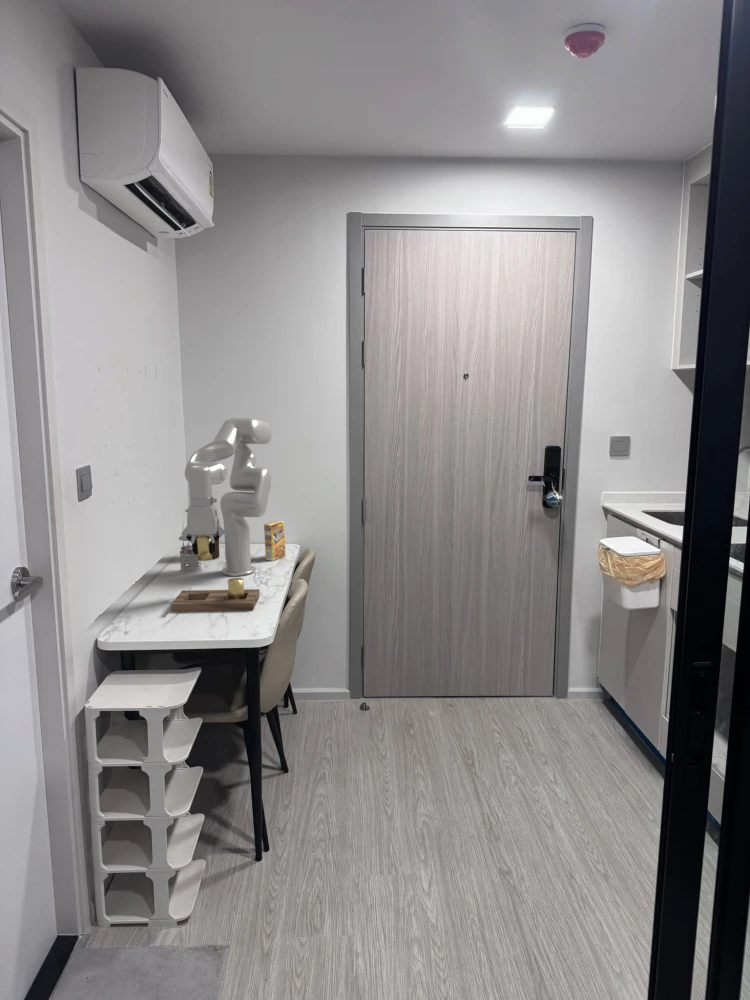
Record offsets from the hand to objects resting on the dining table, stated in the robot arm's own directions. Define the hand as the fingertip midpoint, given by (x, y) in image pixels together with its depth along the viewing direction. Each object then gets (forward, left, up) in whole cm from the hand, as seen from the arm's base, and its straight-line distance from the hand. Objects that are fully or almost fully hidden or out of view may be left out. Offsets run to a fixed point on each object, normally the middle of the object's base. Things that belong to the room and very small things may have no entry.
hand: (204, 553), depth 227 cm
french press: (-28, -13, -15) cm, 35 cm away
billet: (0, 0, -2) cm, 2 cm away
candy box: (-47, +18, -15) cm, 53 cm away
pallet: (+14, +6, -15) cm, 21 cm away
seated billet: (+14, +13, -14) cm, 23 cm away
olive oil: (-50, -11, -15) cm, 54 cm away
